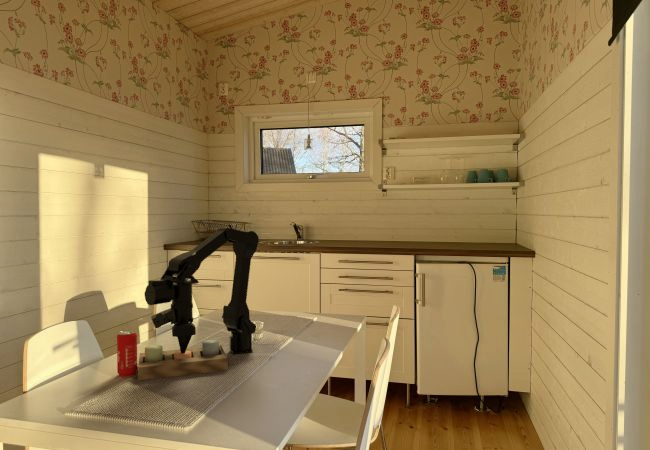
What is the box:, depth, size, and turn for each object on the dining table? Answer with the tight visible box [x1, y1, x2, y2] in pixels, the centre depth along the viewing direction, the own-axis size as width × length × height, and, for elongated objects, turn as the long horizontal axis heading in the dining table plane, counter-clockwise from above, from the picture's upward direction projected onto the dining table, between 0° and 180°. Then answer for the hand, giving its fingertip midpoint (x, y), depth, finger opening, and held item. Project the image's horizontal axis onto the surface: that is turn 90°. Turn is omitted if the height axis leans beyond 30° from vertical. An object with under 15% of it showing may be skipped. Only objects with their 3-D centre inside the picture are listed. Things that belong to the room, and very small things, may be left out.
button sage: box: [144, 344, 164, 362], centre depth 136 cm, size 5×5×4 cm
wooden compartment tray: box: [137, 345, 229, 381], centre depth 139 cm, size 24×14×4 cm, turn 109°
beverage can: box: [116, 329, 138, 378], centre depth 133 cm, size 5×5×12 cm
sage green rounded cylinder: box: [201, 339, 220, 357], centre depth 142 cm, size 5×5×4 cm
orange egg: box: [174, 351, 191, 359], centre depth 139 cm, size 5×5×4 cm
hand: (182, 353), depth 139 cm, fingers closed, pressing on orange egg
